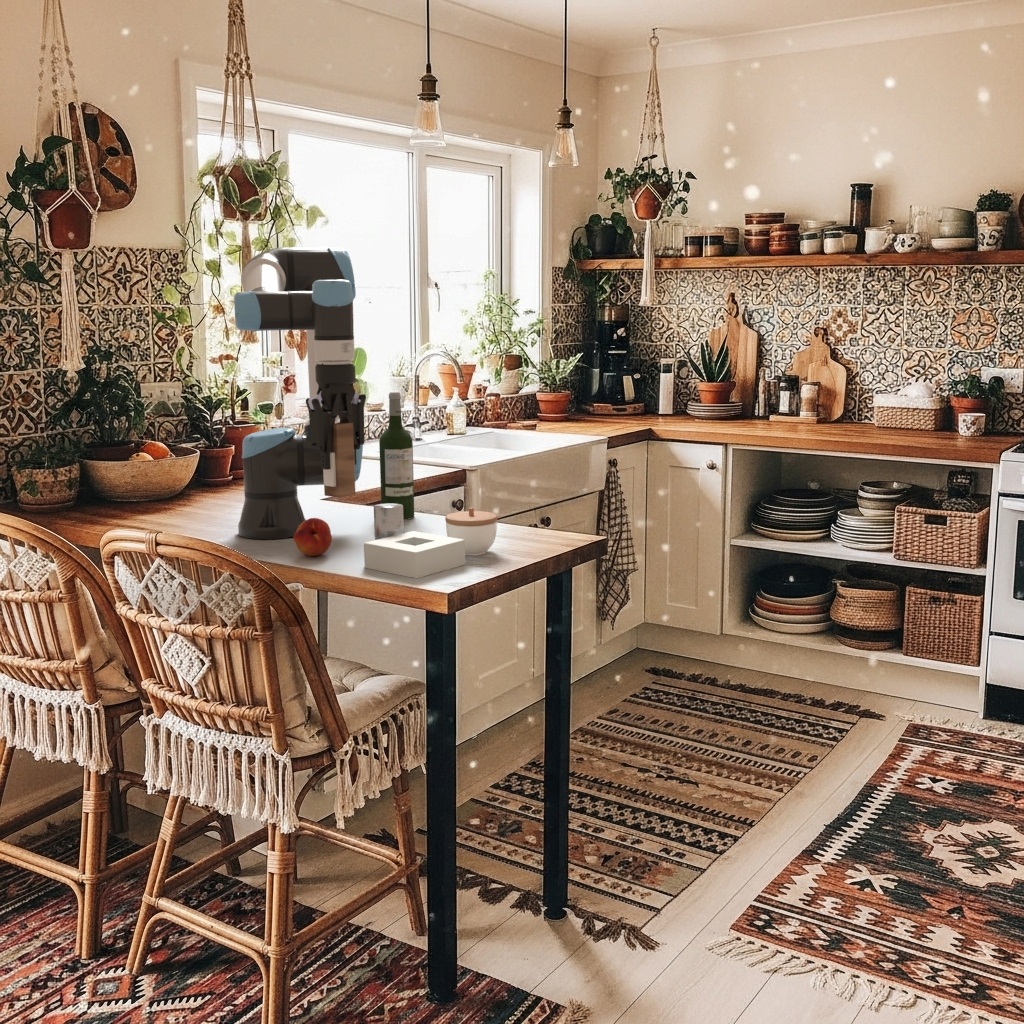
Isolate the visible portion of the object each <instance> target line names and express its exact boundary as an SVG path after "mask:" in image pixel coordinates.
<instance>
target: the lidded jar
mask: <svg viewBox="0 0 1024 1024" xmlns="http://www.w3.org/2000/svg"><path fill="white" fill-rule="evenodd" d="M445 527H446V528H445V530H446V537H452V538H457V539H463V540H465V556H467V557H468V556H471V557H472V556H481V555H485V554H487V551H488V550H489V549H490V548H491V547H492V546H493V545H494V543H495V541H496V537H497V530H498V515H497V514H496V513H493V512H490V511H482V510H479V511H478V510H475V509H474V507H468V511H467V510H466V511H465V510H464V511H456V512H451V513H448V514H447V515H446V516H445Z"/></svg>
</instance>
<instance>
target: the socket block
mask: <svg viewBox="0 0 1024 1024" xmlns="http://www.w3.org/2000/svg"><path fill="white" fill-rule="evenodd" d="M363 557H364V561H363V562H364V568H365V569H369V570H375V571H379V572H384V573H388V574H394V575H399V576H403V577H408V578H413V579H418V578H422V577H426V576H429V575H433V574H436V573H440V572H443V571H447V570H451V569H454V568H457V567H461V566H464V565H466V555H465V540H463V539H457V538H452V537H448V536H447V535H445V536H444V535H439V534H433V533H427V532H423V531H421V532H420V531H415V530H413V531H408V532H404V533H403V534H399V535H395V536H391V537H386V538H382V539H378V540H375V539H374V540H371V541H366V542H363Z"/></svg>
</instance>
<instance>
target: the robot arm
mask: <svg viewBox="0 0 1024 1024" xmlns="http://www.w3.org/2000/svg"><path fill="white" fill-rule="evenodd" d="M241 271H242V273H241V276H240V277H241V279H240V280H241V285H242V288H243V290H244V291H238V292H236V293H235V294H234V295H233V298H234V299H233V302H234V303H233V305H234V306H233V307H234V320H235V321H234V323H235V327H236V329H237V330H239V331H246V332H247V331H251V332H255V333H256V332H262V331H306V333H305V334H306V349H307V350H306V351H307V352H306V353H307V370H308V371H307V372H308V391H309V397H307V398H306V399H305V404H306V407H307V410H308V418H309V419H308V421H307V422H305V424H304V433H296V430H295V428H294V427H277V428H270V429H265V430H261V431H255V432H252V433H249V434H248V435H245V436H244V437H243V439H242V446H241V447H242V455H241V459H242V465H243V466H242V467H243V468H242V469H243V470H242V471H243V488H244V489H243V491H244V502H243V505H242V506H243V507H242V511H241V514H240V517H239V518H240V519H239V522H238V525H237V527H238V531H237V532H238V536H239V537H242V538H246V539H251V540H252V539H254V540H255V539H256V540H275V539H276V540H277V539H284V538H285V539H286V538H287V539H288V538H293V537H294V535H295V533H296V531H297V529H298V527H299V525H300V524H301V523H302V522H304V521H306V520H307V519H306V518H305V515H304V511H303V509H302V506H301V504H300V503H301V502H300V501H299V497H298V487H299V486H300V487H301V486H321V485H322V486H323V487H324V486H331V487H335V486H336V469H335V453H334V452H331V450H332V442H333V434H334V430H333V425H334V424H335V422H345V423H353V438H354V466H355V483H356V482H357V481H358V480H359V479H360V478H359V477H360V476H361V468H362V461H363V460H362V459H363V451H364V450H363V448H364V444H365V403H366V401H367V395H366V394H365V393H358V392H356V390H355V389H356V388H355V387H354V383H355V382H356V379H357V378H356V376H357V375H356V365H355V363H352V361H353V362H354V360H355V359H356V358H355V357H356V355H355V354H356V353H355V336H354V331H355V330H354V299H355V298H356V295H357V293H356V291H357V290H356V283H355V273H354V269H353V264H352V260H351V257H350V254H349V252H348V251H347V250H346V249H344V248H342V247H329V246H323V247H322V246H319V247H317V246H316V247H315V246H313V247H306V246H305V247H298V246H297V247H295V246H294V247H287V246H281V247H280V246H279V247H274V248H271V249H270V248H269V249H267V250H265V251H262V252H260V253H258V254H256V255H255V256H253V257H251V258H250V259H249V260H248V261H247V263H246V264H244V267H243V269H242V270H241ZM325 445H326V446H325Z"/></svg>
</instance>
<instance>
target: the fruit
mask: <svg viewBox="0 0 1024 1024" xmlns="http://www.w3.org/2000/svg"><path fill="white" fill-rule="evenodd" d="M292 539H293V542H294V543H295V546H296V548H297V550H298V551H299V552H300V553H302V555H306V556H309V557H316V556H322V555H323V554H325V553H326V552H327V551H328V550H329V548H330V547H331V545H332V540H333V537H332V533H331V528H330V525H329V523H327V522H326V521H325V520H324V519H322V518H318V517H311V518H308V519H306V521H304V522H302V523H301V524H300V525H299V527H298V529H297V531H296V533H295V535H294V536H293V537H292Z"/></svg>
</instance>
